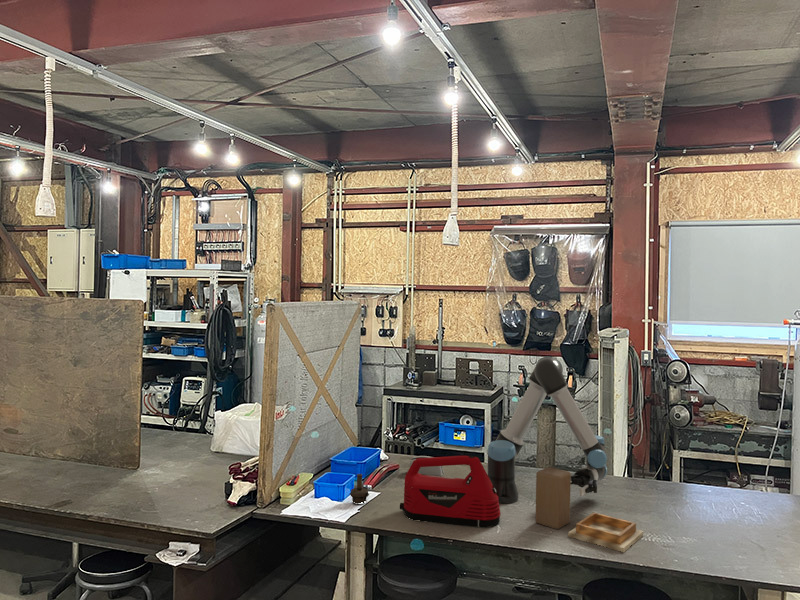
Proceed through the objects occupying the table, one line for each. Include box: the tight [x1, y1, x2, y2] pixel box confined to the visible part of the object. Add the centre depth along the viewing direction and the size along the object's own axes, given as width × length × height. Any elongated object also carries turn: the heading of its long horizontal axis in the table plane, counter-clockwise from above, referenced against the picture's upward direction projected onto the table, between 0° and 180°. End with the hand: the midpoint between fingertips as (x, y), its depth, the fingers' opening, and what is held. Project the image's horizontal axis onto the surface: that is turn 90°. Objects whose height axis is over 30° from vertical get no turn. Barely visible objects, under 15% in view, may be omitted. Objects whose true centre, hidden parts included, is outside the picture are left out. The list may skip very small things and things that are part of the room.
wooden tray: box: [567, 512, 644, 553], centre depth 217 cm, size 20×20×4 cm
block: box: [534, 466, 572, 530], centre depth 228 cm, size 10×10×20 cm
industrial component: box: [349, 473, 370, 504], centre depth 247 cm, size 9×7×12 cm
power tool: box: [399, 455, 502, 529], centre depth 233 cm, size 16×40×25 cm, turn 75°
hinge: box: [409, 455, 445, 477], centre depth 289 cm, size 17×5×10 cm, turn 74°
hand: (564, 488), depth 235 cm, fingers open, 13 cm apart
